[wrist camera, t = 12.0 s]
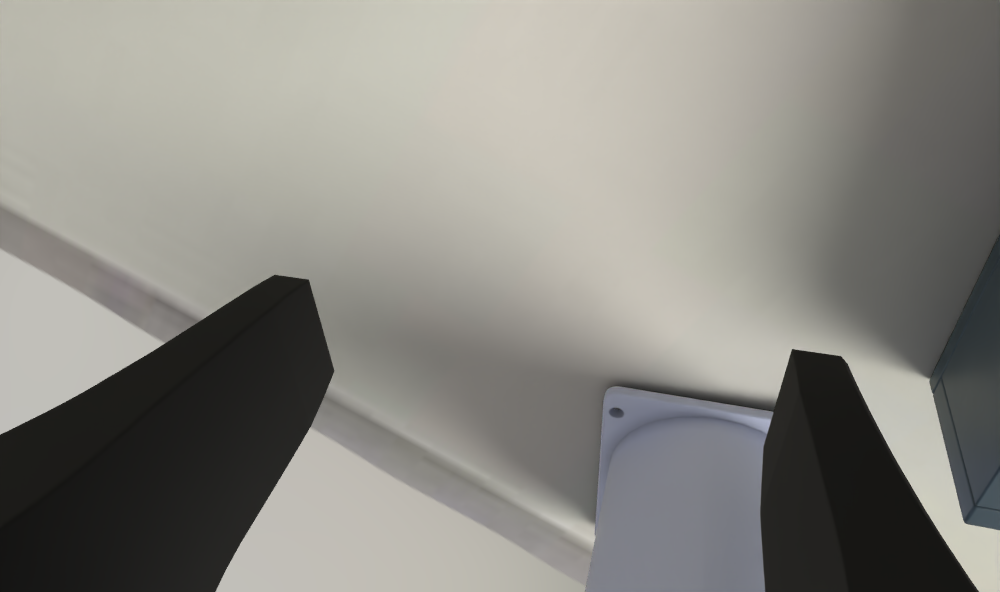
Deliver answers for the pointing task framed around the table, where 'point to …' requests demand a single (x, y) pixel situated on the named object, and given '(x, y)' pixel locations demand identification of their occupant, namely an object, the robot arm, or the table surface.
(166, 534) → the robot arm
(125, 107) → the table surface
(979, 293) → the tub
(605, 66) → the table surface
